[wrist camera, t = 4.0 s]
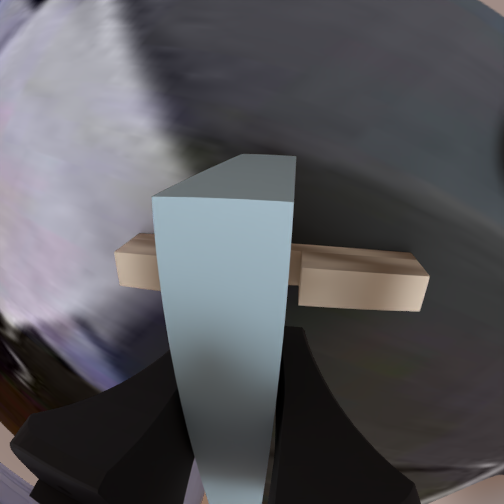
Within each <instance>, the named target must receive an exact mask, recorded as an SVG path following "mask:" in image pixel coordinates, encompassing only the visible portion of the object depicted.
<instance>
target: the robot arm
mask: <svg viewBox="0 0 504 504" xmlns="http://www.w3.org/2000/svg"><path fill="white" fill-rule="evenodd" d="M10 447H11V450H12V451H13V452H14V454H15V455H16V456H17V457H18V459H19V460H21V462H22V463H23V464H24V465H25V466H26V467H27V468H28V469H29V470H30V471H31V472H32V473H33V474H34V475H35V476H36V477H37V478H38V479H39V480H38V481H37V483H36V485H35V486H32V485H30V484H29V483H28V482H26V481H25V480H23V479H22V478H20V477H19V476H18V475H16V474H15V473H14V472H12V471H11V470H9V469H8V468H7V467H6V466H4V465H3V464H2V463H1V462H0V504H201V503H202V500H203V496H204V492H205V490H204V487H203V483H202V480H201V477H200V473H199V470H198V467H197V463H196V460H195V456H194V452H193V449H192V445H191V441H190V437H189V434H188V430H187V426H186V422H185V417H184V413H183V409H182V405H181V400H180V396H179V391H178V386H177V382H176V377H175V372H174V367H173V362H172V356H171V351H170V350H169V351H168V352H167V353H165V354H164V355H163V356H162V357H160V358H159V359H157V360H156V361H155V362H153V363H152V364H151V365H149V366H148V367H147V368H145V369H144V370H142V371H141V372H139V373H138V374H136V375H134V376H133V377H131V378H129V379H128V380H126V381H124V382H122V383H120V384H119V385H116V386H114V387H112V388H110V389H108V390H106V391H104V392H102V393H100V394H97V395H95V396H93V397H90V398H88V399H85V400H82V401H80V402H77V403H74V404H71V405H68V406H64V407H61V408H57V409H53V410H48V411H44V412H39V413H34V414H31V415H30V416H29V418H28V419H27V420H26V422H25V423H24V424H23V426H22V427H21V428H20V430H19V431H18V432H17V434H16V435H15V437H14V438H13V439H12V441H11V442H10ZM268 504H421V503H420V499H419V496H418V493H417V489H416V486H415V484H414V483H413V482H412V481H411V480H409V479H408V478H407V477H406V476H404V475H403V474H402V473H401V472H399V471H398V470H397V469H396V468H395V467H393V466H392V465H391V464H390V463H389V462H388V461H387V460H386V459H385V458H384V457H383V456H382V455H381V454H379V453H378V452H377V451H376V450H375V449H374V447H373V446H372V445H371V444H370V443H369V442H368V441H367V440H366V439H365V437H364V436H363V435H362V434H361V433H360V432H359V431H358V430H357V428H356V427H355V426H354V425H353V423H352V422H351V421H350V419H349V418H348V417H347V415H346V414H345V413H344V411H343V410H342V408H341V407H340V405H339V404H338V402H337V401H336V399H335V398H334V396H333V394H332V393H331V391H330V389H329V387H328V386H327V384H326V382H325V380H324V378H323V376H322V374H321V372H320V370H319V368H318V366H317V364H316V362H315V360H314V357H313V355H312V352H311V350H310V347H309V344H308V341H307V338H306V334H305V330H304V329H303V328H302V327H288V326H284V334H283V344H282V353H281V363H280V372H279V381H278V389H277V398H276V428H275V456H274V465H273V472H272V479H271V486H270V492H269V499H268Z"/></svg>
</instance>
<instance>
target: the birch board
mask: <svg viewBox="0 0 504 504" xmlns="http://www.w3.org/2000/svg"><path fill="white" fill-rule="evenodd" d="M114 254H115V260H116V266H117V272H118V278H119V283H120V286H127V287H134V288H141V289H148V290H156V291H161V287H160V280H159V272H158V263H157V254H156V245H155V234H144V233H139V234H138V235H136V236H135V237H134V238H132V239H131V240H130V241H128V242H127V243H126V244H124V245H123V246H121V247H120V248H119V249H117V250H116V251H115V252H114ZM429 278H430V276H429V275H428V274H427V272H426V271H425V270H424V268H423V267H422V266H421V265H420V263H419V262H418V261H417V260H416V258H415V257H414V256H413V255H412V253H406V252H394V251H382V250H370V249H358V248H345V247H333V246H320V245H306V244H293V243H291V253H290V266H289V279H288V285H299V302H298V305H302V306H316V307H332V308H349V309H368V310H393V311H420V308H421V305H422V302H423V298H424V295H425V292H426V288H427V285H428V281H429Z"/></svg>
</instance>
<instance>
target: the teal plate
mask: <svg viewBox="0 0 504 504" xmlns="http://www.w3.org/2000/svg"><path fill="white" fill-rule="evenodd" d="M295 172H296V156H284V155H263V154H241V155H239V156H236V157H234V158H232V159H229V160H227V161H225V162H223V163H220V164H218V165H216V166H214V167H211V168H209V169H207V170H205V171H203V172H201V173H198V174H196V175H194V176H192V177H190V178H188V179H186V180H184V181H182V182H180V183H178V184H176V185H174V186H172V187H170V188H168V189H166V190H164V191H162V192H160V193H158V194H156V195H154V196H152V210H153V223H154V234H155V245H156V254H157V263H158V272H159V280H160V287H161V295H162V302H163V309H164V315H165V322H166V328H167V334H168V340H169V345H170V351H171V356H172V362H173V367H174V372H175V377H176V382H177V386H178V391H179V396H180V400H181V405H182V409H183V413H184V417H185V422H186V426H187V430H188V434H189V437H190V441H191V445H192V449H193V452H194V456H195V460H196V463H197V467H198V470H199V473H200V477H201V480H202V483H203V487H204V490H205V493H206V496H207V499H208V502H209V504H262V498H263V491H264V485H265V479H266V472H267V465H268V458H269V451H270V444H271V437H272V429H273V422H274V414H275V406H276V398H277V389H278V381H279V372H280V363H281V353H282V344H283V334H284V324H285V313H286V302H287V291H288V279H289V266H290V253H291V239H292V225H293V209H294V191H295Z"/></svg>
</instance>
